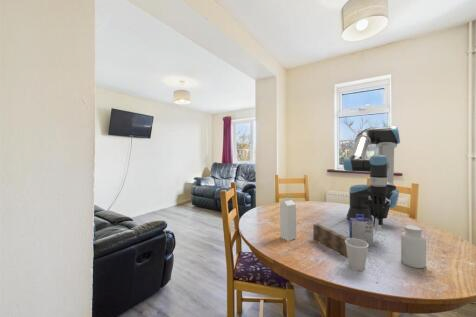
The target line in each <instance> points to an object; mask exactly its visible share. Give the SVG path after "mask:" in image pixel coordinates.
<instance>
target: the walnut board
mask: <svg viewBox="0 0 476 317" xmlns="http://www.w3.org/2000/svg"><path fill="white" fill-rule="evenodd" d="M312 225H313V228H312V229H313V231H312V232H313V234H312V235H313V240H314V239H315V240H314V241H316V242H317V243H319V242H320V243H319V244H321V245H322V246H324V245H325V247H326V248H328V249H330V250H331V249H332V251H333V252H335V253H337V254H338V253H339V254H338V255H340V256H342V257H344V258H345V259H348V257H347V250H346V243H345V240H346V239H349V237H346V236H344V235H342V234H340V233H338V232H336V231H334V230H331V229H330V228H327V227H325V226H324V225H321V224H319V223H314V224H312Z"/></svg>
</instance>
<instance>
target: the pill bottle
mask: <svg viewBox="0 0 476 317" xmlns="http://www.w3.org/2000/svg"><path fill="white" fill-rule="evenodd" d="M422 230H423V229H422V228H421V227H419V226H416V225H405V226H404V231H403V232H402V233H401V235H400V255H401V256H400V259H401V260H400V261H401V262H402V263H403V264H404V265H406V266H408V267H410V268H416V269H424V268H426V266H427V238H426V237H425V236H424V235H423V232H422Z"/></svg>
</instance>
